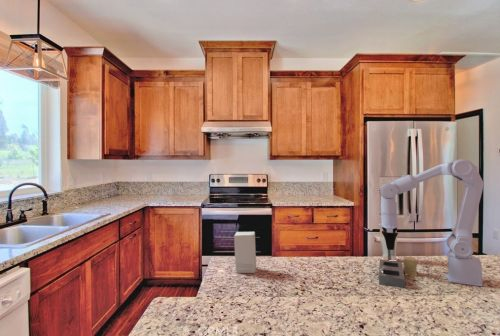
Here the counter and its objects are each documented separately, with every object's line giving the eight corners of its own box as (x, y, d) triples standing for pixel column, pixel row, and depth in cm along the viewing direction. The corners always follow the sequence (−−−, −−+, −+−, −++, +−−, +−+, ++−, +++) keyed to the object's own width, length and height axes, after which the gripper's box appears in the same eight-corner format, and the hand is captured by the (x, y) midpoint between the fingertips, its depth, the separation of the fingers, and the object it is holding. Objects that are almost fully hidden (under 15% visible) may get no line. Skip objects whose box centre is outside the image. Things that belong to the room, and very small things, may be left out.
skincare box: (256, 268, 113) (255, 231, 114) (255, 274, 107) (254, 234, 107) (236, 267, 114) (236, 231, 115) (234, 273, 108) (234, 234, 108)
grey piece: (401, 269, 110) (401, 261, 110) (404, 288, 92) (404, 279, 92) (380, 266, 113) (379, 259, 113) (379, 284, 95) (378, 275, 96)
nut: (415, 272, 106) (415, 257, 106) (416, 276, 102) (416, 260, 102) (404, 271, 108) (403, 256, 108) (404, 274, 104) (404, 259, 104)
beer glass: (396, 263, 117) (395, 229, 117) (379, 260, 121) (378, 227, 121) (398, 259, 122) (398, 226, 123) (382, 256, 126) (381, 224, 127)
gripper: (378, 210, 117) (379, 242, 116) (377, 215, 104) (378, 250, 103) (396, 211, 114) (398, 243, 113) (398, 216, 101) (399, 252, 100)
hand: (390, 247), depth 108 cm, fingers open, 7 cm apart
